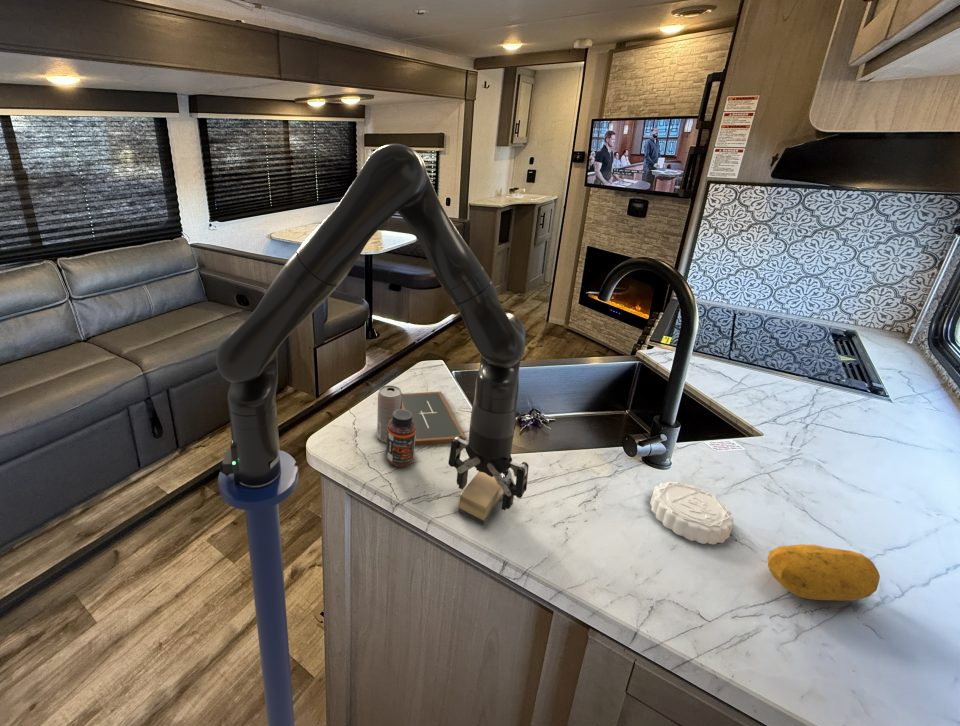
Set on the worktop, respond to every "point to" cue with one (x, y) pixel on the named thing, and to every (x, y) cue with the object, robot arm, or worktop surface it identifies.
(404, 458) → the supplement bottle
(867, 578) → the potato
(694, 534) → the mooncake
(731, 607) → the worktop surface
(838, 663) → the worktop surface
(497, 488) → the eraser
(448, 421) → the chalkboard
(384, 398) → the energy drink
